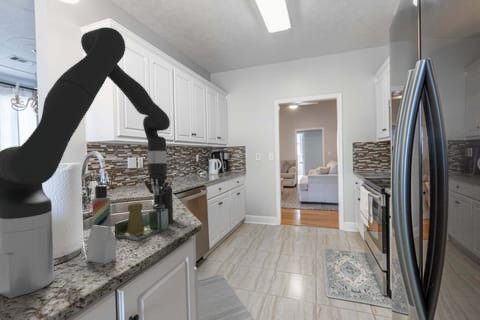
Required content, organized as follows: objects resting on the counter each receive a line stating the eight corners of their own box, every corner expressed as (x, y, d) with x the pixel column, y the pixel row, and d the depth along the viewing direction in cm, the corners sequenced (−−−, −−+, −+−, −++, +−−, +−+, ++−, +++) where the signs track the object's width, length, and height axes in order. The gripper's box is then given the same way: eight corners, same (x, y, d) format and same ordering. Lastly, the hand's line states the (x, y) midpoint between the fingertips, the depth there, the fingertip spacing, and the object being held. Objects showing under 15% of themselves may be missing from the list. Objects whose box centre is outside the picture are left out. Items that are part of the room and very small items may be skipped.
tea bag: (105, 264, 66) (104, 229, 65) (87, 260, 68) (86, 227, 68) (115, 258, 69) (114, 225, 69) (99, 255, 71) (98, 223, 71)
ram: (159, 227, 93) (158, 206, 92) (150, 225, 94) (149, 205, 94) (167, 223, 97) (167, 204, 97) (158, 222, 99) (158, 203, 99)
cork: (137, 233, 86) (136, 204, 86) (123, 232, 88) (122, 204, 88) (147, 228, 92) (146, 201, 92) (134, 227, 94) (133, 200, 93)
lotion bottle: (95, 236, 88) (94, 184, 88) (112, 234, 90) (111, 183, 90) (91, 241, 83) (89, 186, 82) (109, 239, 85) (107, 185, 84)
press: (138, 241, 83) (138, 218, 83) (115, 236, 88) (114, 215, 88) (169, 227, 97) (169, 209, 97) (147, 224, 102) (147, 206, 102)
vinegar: (157, 223, 104) (156, 179, 104) (158, 219, 111) (157, 177, 110) (172, 222, 106) (171, 178, 105) (173, 218, 113) (172, 177, 112)
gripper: (138, 162, 94) (139, 204, 95) (163, 162, 89) (164, 207, 89) (152, 161, 101) (153, 201, 102) (176, 161, 96) (177, 203, 96)
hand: (158, 203), depth 95 cm, fingers closed
